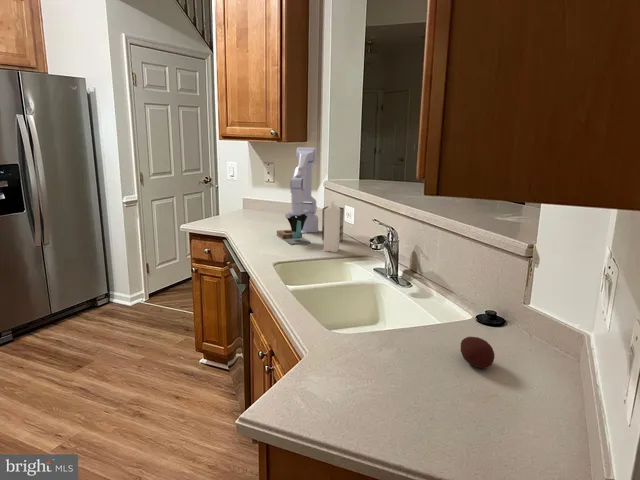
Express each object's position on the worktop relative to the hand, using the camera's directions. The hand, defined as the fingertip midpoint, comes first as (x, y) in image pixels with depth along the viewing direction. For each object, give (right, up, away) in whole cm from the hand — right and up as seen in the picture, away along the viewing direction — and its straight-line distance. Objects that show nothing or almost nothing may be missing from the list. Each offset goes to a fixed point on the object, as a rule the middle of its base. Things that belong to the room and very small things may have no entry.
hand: (297, 230), depth 223 cm
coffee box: (+17, -5, +7) cm, 19 cm away
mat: (0, -5, +1) cm, 5 cm away
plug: (0, -3, +1) cm, 4 cm away
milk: (+16, -9, -13) cm, 23 cm away
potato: (+48, -34, -113) cm, 127 cm away
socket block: (-4, -3, +11) cm, 12 cm away
